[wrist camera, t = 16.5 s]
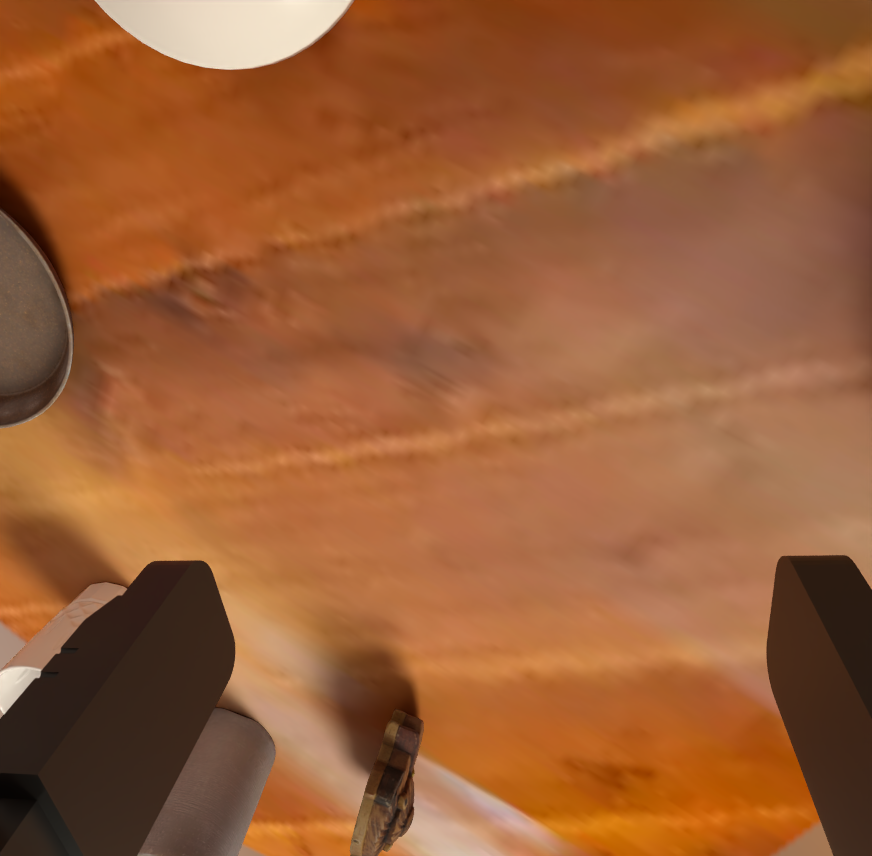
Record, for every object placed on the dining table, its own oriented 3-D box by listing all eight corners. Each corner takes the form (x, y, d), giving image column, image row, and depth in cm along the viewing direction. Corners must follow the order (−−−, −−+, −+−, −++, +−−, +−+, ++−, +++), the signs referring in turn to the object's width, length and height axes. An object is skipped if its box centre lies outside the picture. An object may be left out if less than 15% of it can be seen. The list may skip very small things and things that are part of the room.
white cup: (62, 573, 57) (-25, 662, 49) (148, 578, 56) (75, 670, 47) (88, 642, 61) (11, 737, 52) (170, 648, 60) (105, 747, 51)
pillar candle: (211, 781, 68) (133, 951, 55) (159, 714, 64) (62, 879, 51) (294, 767, 65) (234, 942, 52) (245, 696, 61) (167, 866, 48)
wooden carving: (417, 802, 65) (397, 915, 56) (370, 792, 65) (343, 903, 56) (435, 681, 57) (416, 790, 48) (382, 671, 57) (353, 778, 49)
